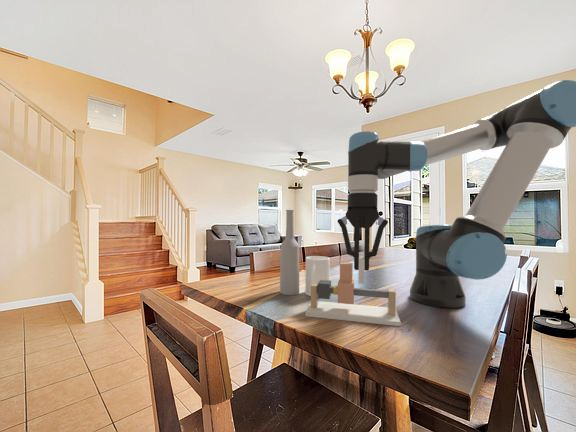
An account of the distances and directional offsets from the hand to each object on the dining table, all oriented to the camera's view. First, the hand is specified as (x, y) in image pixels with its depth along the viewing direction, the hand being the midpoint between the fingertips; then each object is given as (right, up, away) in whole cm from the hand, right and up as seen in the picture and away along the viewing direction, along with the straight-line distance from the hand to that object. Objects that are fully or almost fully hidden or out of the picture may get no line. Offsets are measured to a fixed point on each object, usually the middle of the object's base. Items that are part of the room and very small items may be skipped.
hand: (361, 282), depth 71 cm
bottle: (-19, -9, +20) cm, 29 cm away
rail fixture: (-2, -9, +1) cm, 9 cm away
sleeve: (-4, -5, +1) cm, 6 cm away
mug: (-10, -9, +18) cm, 22 cm away
